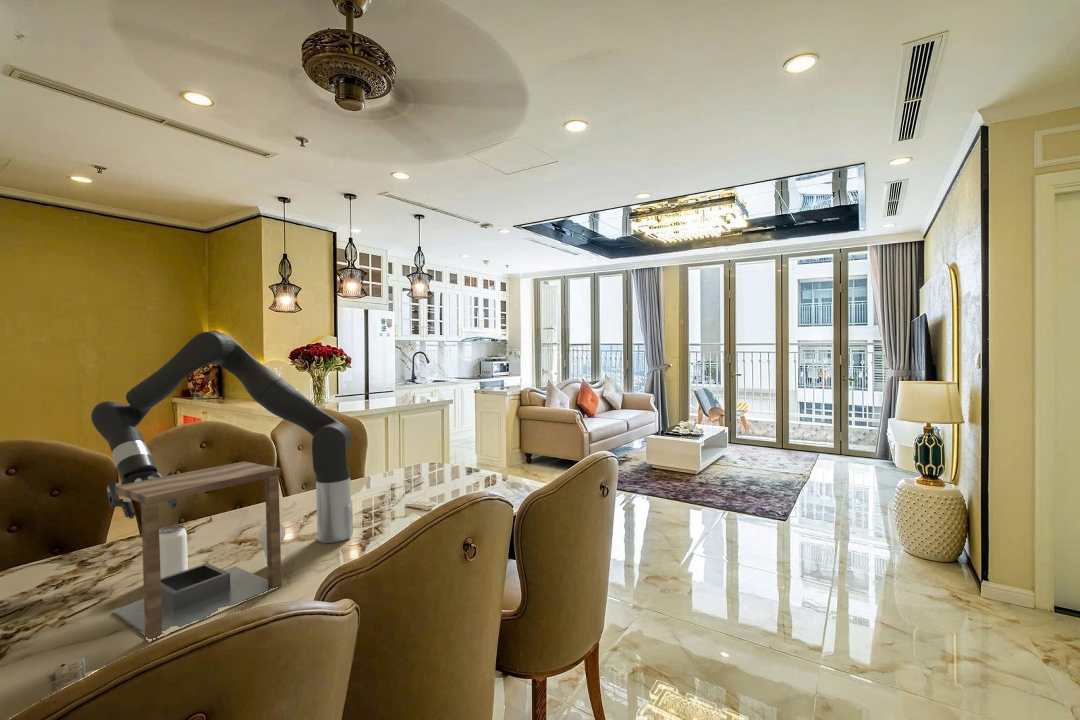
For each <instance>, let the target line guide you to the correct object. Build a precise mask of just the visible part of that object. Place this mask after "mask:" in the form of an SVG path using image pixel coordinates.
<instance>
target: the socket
mask: <svg viewBox="0 0 1080 720" xmlns="http://www.w3.org/2000/svg"><path fill="white" fill-rule="evenodd" d="M278 586H279V585H278ZM273 588H274V587H270V586H268V578H264V577H262V576H259V575H257V574H254V573H252V572H250V571H247V570H246V569H243V568H241V567H238V566H232V567H229V568H226V569H221V568H219V567H217V566H214V565H213V564H210V563H208V562H206V563H203V564H200V565H196V566H194V567H191V568H188V570H185V571H182V572H179V573H176V574H173V575H170V576H167V577H164V578H161V605H162V631H166V630H167V629H169V628H170V627H172V626H173V627H174V626H178V627H182V626H184V625H186V624H190V623H192V622H194V621H197V620H201V619H204V618H206V617H207V616H210V615H211V614H212V613H214V612H216V611H218V608H219V609H220V608H221V607H222V608H223V607H226V606H231V605H234V604H237V603H239V602H241V601H244V600H248V599H250V598H252V597H255V596H257V595H259V594H261V593H264V592H266V591H269V590H271V589H273ZM112 614H114V615H115V614H116V615H115V616H117V617H118V618H120V619H121V620H122V619H123V620H122V621H124V622H125V621H126V622H125V623H126V624H128V623H129V624H130V625H129V624H128V625H129V626H131V625H132V626H133V627H132V626H131V627H132V628H134V627H135V628H136V629H137V630H136V629H135V628H134V629H135V630H136V631H138V630H139V631H140V632H139V631H138V632H139V633H141V632H142V633H144V634H145V614H144V598H143V599H140V600H138V601H135V602H134V601H133V602H132V603H129V604H126V605H124V606H120V607H118V608H115V609H113V610H112ZM204 620H205V619H204ZM142 633H141V634H142ZM162 634H164V633H162ZM156 639H157V638H156ZM157 640H158V639H157Z"/></svg>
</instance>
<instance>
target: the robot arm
mask: <svg viewBox="0 0 1080 720" xmlns="http://www.w3.org/2000/svg"><path fill="white" fill-rule="evenodd" d="M207 365H217V366H220V367H221V368H223V369H225V370H226V371H227V372H229V373H230V374H232V375H233V376H234V377H236V378H237V379H238V381H240V382H241V384H242V385H243V387H244V388H245V390H246V391H247V393H248V394H249V396H250V397H251V398H252V399H253V400H254V401H255V402H256V403H258V405H260V406H261V407H263V408H264V409H265V410H267V411H268V412H269V413H271V414H273V415H274V416H277V417H279V418H281V419H283V420H285V421H287V422H289V423H292V424H294V425H296V426H299V427H301V428H302V429H303V430H305V431H306V432H307V433H309V434H310V435H311V436H312V441H311V455H312V456H311V457H312V468H313V473H314V475H315V489H316V491H315V493H316V496H315V497H316V529H317V530H316V531H317V532H316V533H317V534H316V535H317V541H318V542H319V543H320V544H321V543H322V544H333V543H339V542H342V541H345V540H350V539H351V537H352V535H353V533H354V518H353V517H354V516H353V512H354V511H353V501H352V496H351V495H352V494H351V469H350V467H349V466H348V462H347V449H348V448H349V447H350V446H351V444H352V442H353V435H352V432H351V430H350V428H349V427H348V426H347V425H346V424H344V423H342V422H341V421H339V420H338V419H335V418H334V417H333V416H331V415H330V414H329V413H326V412H324V411H323V410H322V409H321V408H319V407H318V406H316V405H315V404H314V403H313V402H312V401H310V400H309V399H308V398H307V397H306V396H305V395H303V394H302V393H301V392H300V391H298V390H297V389H296V388H295V387H294V386H293V385H291V384H290V383H289V382H287V381H286V380H285V379H283V378H282V377H281V376H279V375H278V374H276V373H275V372H274V371H273V370H271V369H270V368H268V367H267V366H265V365H264V364H263V363H261V362H260V361H258V360H257V359H256V358H254V356H252V355H251V354H250V353H249V352H248V351H247V350H246V349H245V348H244V347H243V346H242V345H240V344H239V342H237V341H236V339H234V338H233V337H232V336H231V335H229V334H227V333H224V332H219V331H202V332H199V333H198V334H195V336H193V337H192V338H191V339H190V340H189V341H188V342H187V343H186V344H184V346H183V347H182V348H180V350H179V351H178V352H177V353H176V354H175V355H174V356H173V357H171V358H170V359H169V360H168V361H167V362H166V363H164V364H163V366H161V367H160V368H159V369H157V370H156V371H154V372H153V373H152V374H151V375H149V376H147V378H145V379H143V380H142V381H140V382H139V383H138V384H136V385H134V387H132V388H131V389H130V390H128V391H127V392H126V394H125V400H126V402H127V403H128V404H129V405H127V404H123V403H120V402H119V403H118V402H115V401H111V400H107V401H102V402H100V403H97V404H96V405H95V406H94V407H93V409H92V411H91V414H90V415H91V416H90V417H91V418H90V419H91V422H92V425H93V427H94V428H95V429H96V430H97V432H98V433H99V434H100V435H101V437H102V438H103V439H105V440H106V442H107V443H108V446H109V449H110V452H111V454H112V460H113V464H114V468H116V470H117V471H116V472H117V474H118V477H119V479H120V482H117V483H115V482H114V481H111V482H109V483H108V486H107V488H106V494H107V498H108V501H109V505H110V508H113V509H114V508H117V507H119V508H121V509H122V511H123V514H124V517H125V518H128V519H129V520H130V519H135V516H136V511H135V509H134V506H133V503H132V499H129V498H126V497H124V496H123V498H120V497H119V496H120V495H118V494H115V486H118V485H123V484H128V483H134V482H139V481H144V480H149V479H155V478H160V477H165V476H170V475H176V474H175V472H174V471H172V470H170V471H168V473H166V474H160V473H159V471H158V468H157V466H156V463H155V460H154V458H153V456H152V454H151V450H150V449H149V448H148V446H147V444H146V443H145V440H144V437H143V435H142V433H141V431H140V430H139V429H138V428H136V427H137V426H138V425H139V424H140V423H141V422H142V421H143V419H144V418H145V417H146V415H148V414H149V412H150V410H152V408H153V407H155V406H156V405H158V404H159V403H161V402H162V401H163V400H165V399H166V398H167V397H168V396H170V395H171V394H172V393H174V391H175V390H176V389H178V386H180V384H181V383H182V382H183V380H184V379H186V378H187V377H189V375H191V374H193V372H195V371H197V370H199V369H201V368H203V367H205V366H207ZM166 502H167V504H168V507H169V509H170V510H173V509H175V508H176V507H177V504H178V498H177V499H172V500H168V501H166Z"/></svg>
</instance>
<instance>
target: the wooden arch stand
mask: <svg viewBox="0 0 1080 720" xmlns="http://www.w3.org/2000/svg"><path fill="white" fill-rule="evenodd" d="M281 471H282V469H281V468H280V467H277V466H276V467H275V466H270V465H266V464H259V463H255V462H250V461H239V462H234V463H229V464H224V465H219V466H214V467H207V468H203V469H198V470H192V471H191V470H190V471H186V472H183V473H177V474H175V475H170V476H165V477H160V478H155V479H149V480H144V481H139V482H134V483H128V484H123V485H118V486H115V494H118V496H121V497H123V498H124V497H126V498H129V499H131V501H135V502H138V503H140V509H141V511H140V512H141V513H140V514H141V515H140V517H141V541H142V542H141V546H142V547H141V548H142V550H141V551H142V576H143V599H144V614H145V635H144V638H145V637H147V638H148V639H152V641H153V642H154V641H156V640H153V638H157V637H158V636H160V635H161V634H162V605H161V573H160V541H159V529H160V516H159V515H160V514H159V512H160V511H159V503H162V502H167V501H168V500H172V499H177V500H178V499H182V498H184V497H189V496H194V495H198V494H202V493H206V492H207V493H208V492H211V491H216V490H220V489H224V488H229V487H234V486H238V485H243V484H246V483H250V482H255V481H260V480H264V485H265V486H264V489H265V490H264V491H265V521H266V522H265V524H266V531H267V562H266V565H267V580H268V586H270V587H274V588H276V587H279V586H281V585H282V583H283V582H282V557H281V555H282V553H281V545H280V524H281V520H280V517H281V515H280V513H281V512H280V483H279V476H281V475H282V472H281ZM278 585H279V586H278ZM279 588H280V587H279ZM161 638H163V637H160V639H161ZM157 640H159V638H157ZM152 641H151V642H148V643H153V642H152Z"/></svg>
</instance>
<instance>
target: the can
mask: <svg viewBox="0 0 1080 720" xmlns="http://www.w3.org/2000/svg"><path fill="white" fill-rule="evenodd" d="M159 541H160V573H161V578H164V577H167V576H170V575H173V574H176V573H179V572H182V571H185V570H188V569H189V565H188V562H189V560H188V535H187V530H186V529H185V525H182V524H174V525H169V526H164V527H161V528H159Z"/></svg>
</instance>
